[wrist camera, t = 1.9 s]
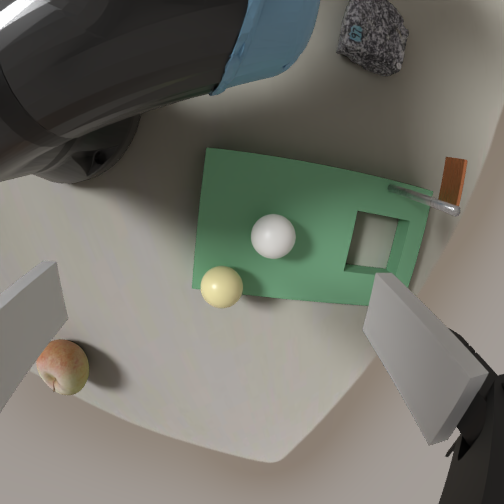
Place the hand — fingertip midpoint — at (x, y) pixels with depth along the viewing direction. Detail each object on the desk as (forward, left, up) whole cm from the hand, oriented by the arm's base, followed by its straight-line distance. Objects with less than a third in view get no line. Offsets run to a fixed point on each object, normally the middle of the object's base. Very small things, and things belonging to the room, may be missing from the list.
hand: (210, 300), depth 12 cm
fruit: (-19, -23, -21) cm, 36 cm away
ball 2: (+5, -2, -16) cm, 17 cm away
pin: (+16, +6, -18) cm, 25 cm away
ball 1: (+1, -7, -16) cm, 18 cm away
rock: (+12, +22, -21) cm, 33 cm away
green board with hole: (+10, -2, -21) cm, 23 cm away
